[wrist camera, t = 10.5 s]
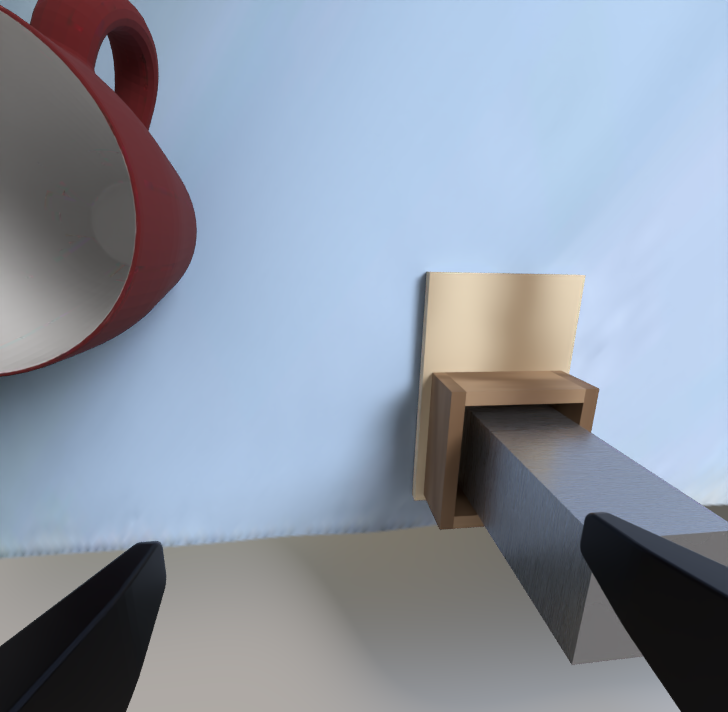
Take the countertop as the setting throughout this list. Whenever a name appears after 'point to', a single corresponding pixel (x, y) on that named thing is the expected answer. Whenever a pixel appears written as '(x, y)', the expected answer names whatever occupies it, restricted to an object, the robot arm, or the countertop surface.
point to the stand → (490, 368)
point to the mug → (82, 184)
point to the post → (569, 515)
